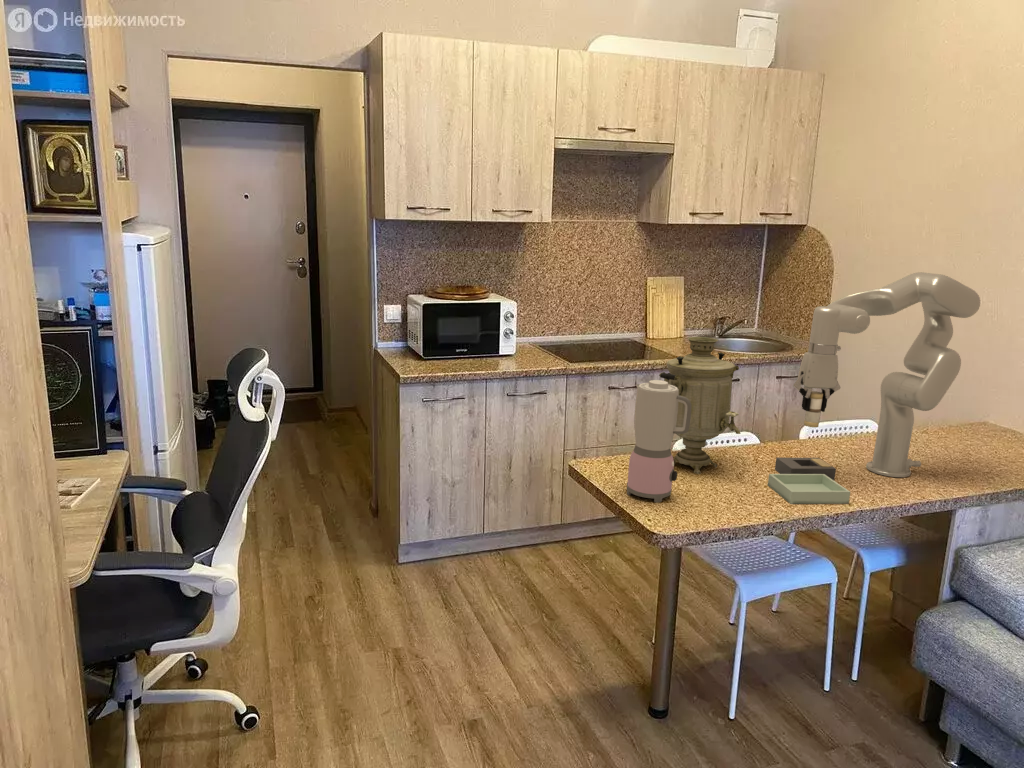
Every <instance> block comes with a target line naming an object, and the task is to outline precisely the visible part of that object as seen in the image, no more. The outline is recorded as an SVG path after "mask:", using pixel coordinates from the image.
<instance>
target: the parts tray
mask: <svg viewBox="0 0 1024 768" xmlns="http://www.w3.org/2000/svg"><path fill="white" fill-rule="evenodd" d="M767 486H768V487H769V488H771V490H773V491H774V492H775V493H776V494H777V495H779V496H780V497H781V498H782V499H784V500H785V501H786V502H787V503H789V504H790V505H804V504H805V505H812V504H813V505H817V504H818V505H825V504H826V505H829V504H831V505H833V504H835V505H838V504H839V505H840V504H841V505H843V504H844V505H847V504H849V503H850V497H851V491H850V490H848V489H847V488H846V487H844V486H842V485H841V484H839V483H838V482H837V481H836V480H832V479H831V478H829V477H828V476H826V475H825V474H780V473H768V479H767Z"/></svg>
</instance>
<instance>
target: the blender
mask: <svg viewBox="0 0 1024 768" xmlns="http://www.w3.org/2000/svg"><path fill="white" fill-rule="evenodd" d="M635 386H636V397H635V404H634V419H633V422H634V437H635V445H634V448H633V451H631V454H630V456H629V459H628V460H629V461H628V473H627V482H626V495H628V496H631V495H635V496H637V497H642V498H647V499H653V502H654V503H661V502H663V499H664V498H667V497H669V496H671V495H672V489H673V487H672V486H673V482H675V481H677V478H678V471H677V470H675V469H674V467H675V463H674V460H673V459H674V457H673V454H672V450H671V446H672V442H673V438H674V435H676V434H684V433H687V432H688V430H689V426H690V419H691V402H690V400H689V399H688V398H686V397H683V396H679V395H678V393H679V390H678V388H677V387H675V386H673V385H669V384H668V382H666V381H664V380H660V379H652V380H649V381H648V382H643V383H636V384H635ZM678 402H681V403H683V404H684V405H685V413H684V422H683V427H682V428H679V427H676V421H677V412H678Z"/></svg>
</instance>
